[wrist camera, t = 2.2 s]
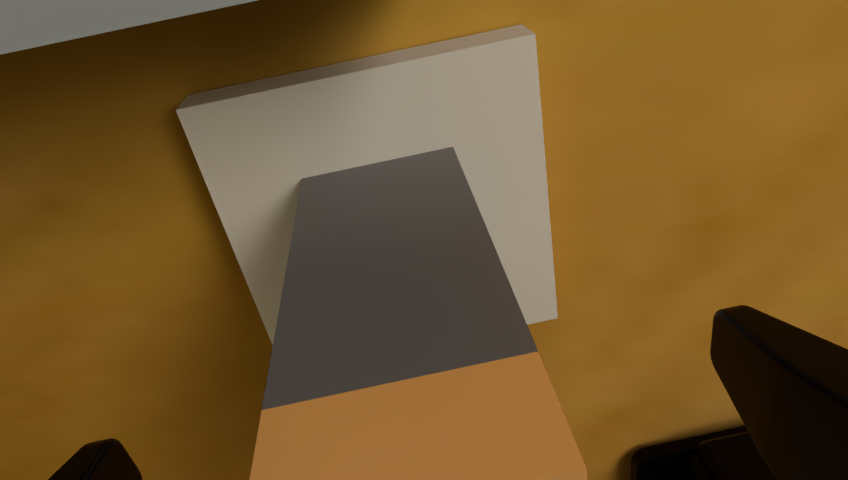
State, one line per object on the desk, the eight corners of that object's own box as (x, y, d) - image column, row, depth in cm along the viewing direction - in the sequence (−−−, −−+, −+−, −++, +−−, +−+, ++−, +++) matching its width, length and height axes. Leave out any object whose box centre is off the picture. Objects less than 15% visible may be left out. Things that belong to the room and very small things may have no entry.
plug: (473, 272, 14) (597, 643, 7) (340, 300, 14) (330, 700, 7) (452, 146, 12) (586, 469, 5) (301, 178, 12) (238, 543, 5)
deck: (546, 294, 16) (557, 317, 15) (288, 349, 16) (285, 376, 15) (522, 24, 12) (535, 34, 11) (188, 94, 12) (175, 110, 11)
